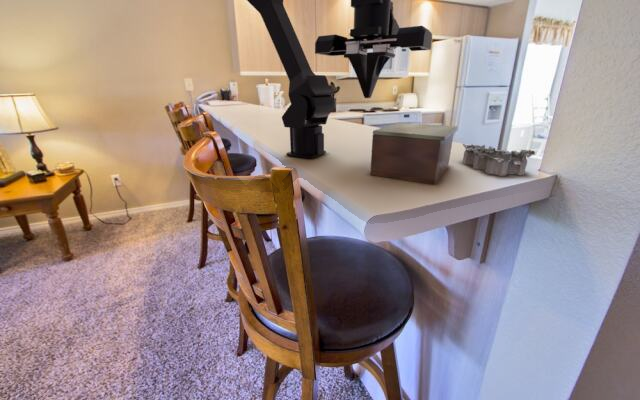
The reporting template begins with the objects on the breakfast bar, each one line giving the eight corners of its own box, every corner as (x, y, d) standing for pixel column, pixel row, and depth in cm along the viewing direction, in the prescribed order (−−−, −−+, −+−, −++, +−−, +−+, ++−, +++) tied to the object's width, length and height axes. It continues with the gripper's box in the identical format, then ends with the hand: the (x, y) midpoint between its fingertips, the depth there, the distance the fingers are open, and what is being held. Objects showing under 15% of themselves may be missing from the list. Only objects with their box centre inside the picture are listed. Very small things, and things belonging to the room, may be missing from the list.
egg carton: (532, 176, 49) (539, 151, 47) (489, 177, 48) (494, 152, 47) (492, 160, 58) (497, 139, 57) (456, 161, 58) (460, 140, 56)
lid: (457, 129, 52) (457, 126, 51) (444, 140, 42) (445, 136, 42) (396, 125, 57) (397, 122, 57) (372, 134, 47) (372, 130, 47)
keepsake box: (448, 166, 54) (454, 129, 52) (434, 184, 44) (440, 140, 42) (393, 159, 59) (396, 125, 57) (370, 174, 49) (372, 134, 47)
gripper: (444, -4, 48) (432, 97, 54) (343, 11, 57) (341, 95, 63) (429, -24, 39) (416, 99, 45) (312, -3, 48) (313, 97, 54)
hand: (367, 98), depth 52 cm, fingers closed
